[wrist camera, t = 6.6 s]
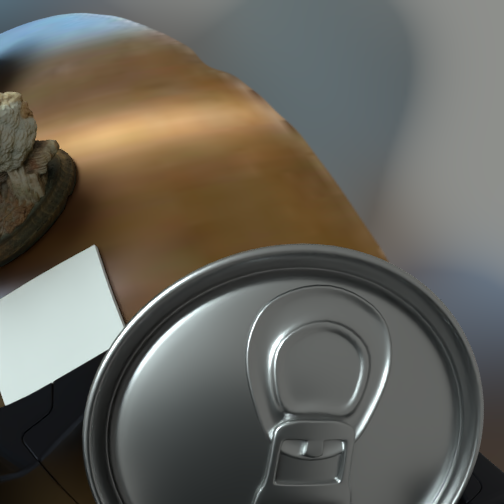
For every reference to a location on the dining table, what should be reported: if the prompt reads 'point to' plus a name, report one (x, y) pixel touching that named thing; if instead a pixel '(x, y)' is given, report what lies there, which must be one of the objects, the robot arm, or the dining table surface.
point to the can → (286, 388)
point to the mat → (56, 324)
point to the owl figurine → (28, 179)
